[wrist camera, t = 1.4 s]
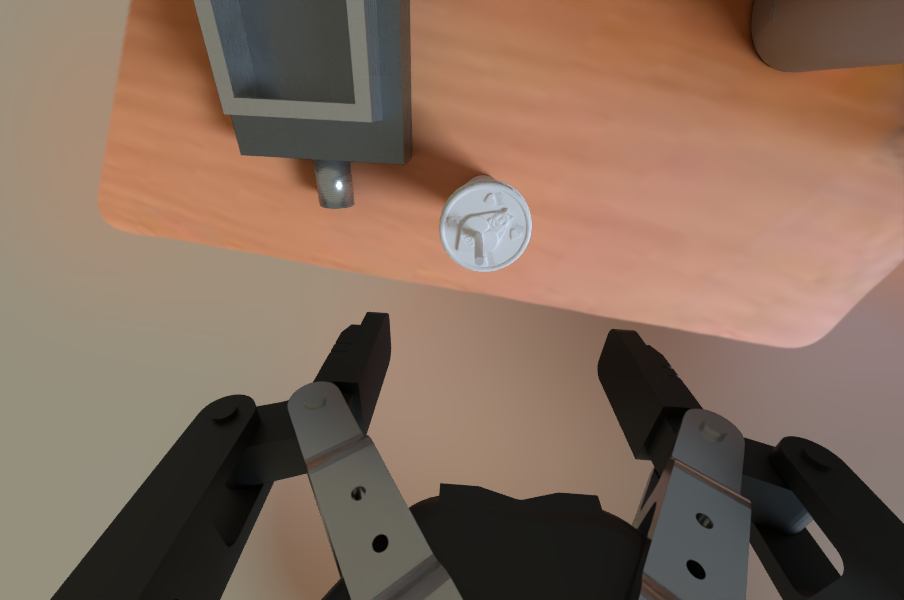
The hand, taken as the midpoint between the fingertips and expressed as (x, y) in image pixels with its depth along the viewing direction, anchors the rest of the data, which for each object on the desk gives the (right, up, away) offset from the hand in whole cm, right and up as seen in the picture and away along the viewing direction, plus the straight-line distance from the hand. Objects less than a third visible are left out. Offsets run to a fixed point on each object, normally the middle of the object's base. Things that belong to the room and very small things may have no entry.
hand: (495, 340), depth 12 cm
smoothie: (+1, +11, +19) cm, 22 cm away
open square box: (-11, +20, +14) cm, 27 cm away
